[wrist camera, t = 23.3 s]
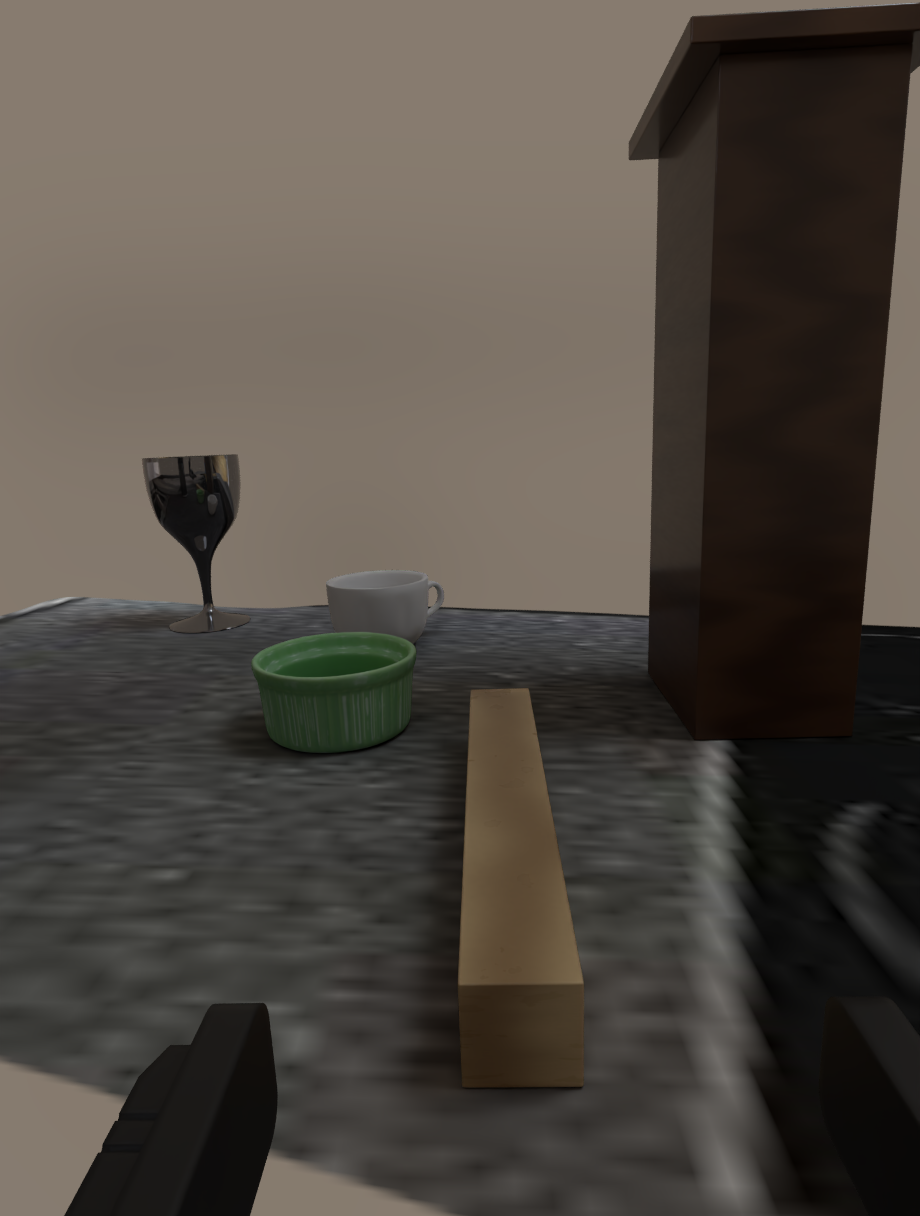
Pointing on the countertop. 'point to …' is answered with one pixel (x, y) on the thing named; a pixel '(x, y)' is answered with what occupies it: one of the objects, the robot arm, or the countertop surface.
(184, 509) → the wine glass
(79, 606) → the countertop surface
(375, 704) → the ramekin
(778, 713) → the walnut stand
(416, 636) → the teacup
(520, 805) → the beech bar
